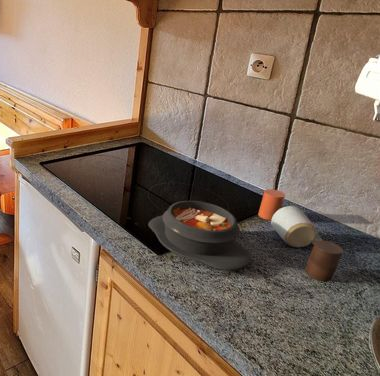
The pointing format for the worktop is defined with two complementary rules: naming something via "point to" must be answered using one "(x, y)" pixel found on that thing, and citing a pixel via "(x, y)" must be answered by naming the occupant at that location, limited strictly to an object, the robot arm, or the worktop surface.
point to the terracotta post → (271, 203)
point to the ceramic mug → (294, 227)
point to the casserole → (202, 234)
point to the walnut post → (323, 260)
